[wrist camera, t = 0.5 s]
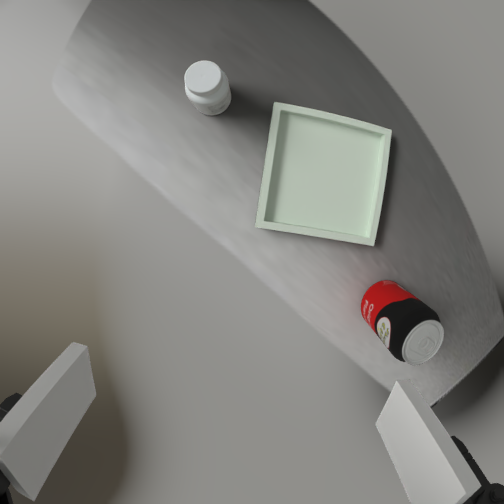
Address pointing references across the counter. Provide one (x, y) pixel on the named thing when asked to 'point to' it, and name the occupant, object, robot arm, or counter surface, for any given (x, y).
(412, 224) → the counter surface
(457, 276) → the counter surface
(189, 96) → the pill bottle
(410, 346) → the beverage can
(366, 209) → the tray
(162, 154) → the counter surface
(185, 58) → the counter surface
